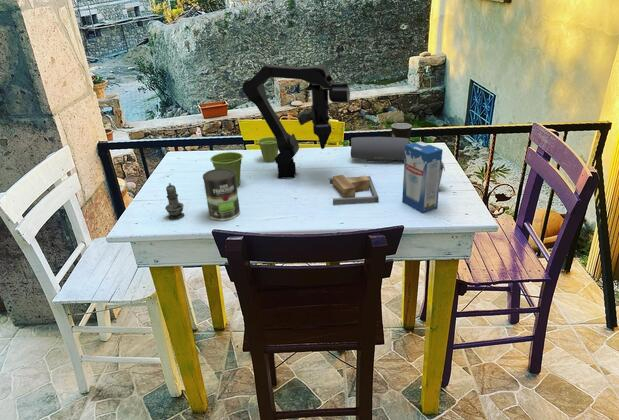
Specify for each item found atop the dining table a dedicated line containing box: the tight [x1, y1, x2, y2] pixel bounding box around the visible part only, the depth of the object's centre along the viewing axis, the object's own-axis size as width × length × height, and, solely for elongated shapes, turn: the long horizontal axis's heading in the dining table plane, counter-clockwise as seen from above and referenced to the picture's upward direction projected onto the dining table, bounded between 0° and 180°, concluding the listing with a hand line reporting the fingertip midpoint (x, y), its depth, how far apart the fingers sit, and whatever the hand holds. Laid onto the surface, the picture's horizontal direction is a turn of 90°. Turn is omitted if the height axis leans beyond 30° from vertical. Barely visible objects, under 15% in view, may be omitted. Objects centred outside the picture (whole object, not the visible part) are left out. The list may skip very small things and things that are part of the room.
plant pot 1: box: [209, 151, 244, 187], centre depth 168 cm, size 12×12×11 cm
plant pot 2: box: [257, 136, 279, 163], centre depth 191 cm, size 9×9×9 cm
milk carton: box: [401, 140, 443, 214], centre depth 144 cm, size 10×6×20 cm, turn 29°
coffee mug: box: [390, 122, 413, 141], centre depth 197 cm, size 12×9×10 cm
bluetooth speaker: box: [350, 136, 410, 163], centre depth 184 cm, size 23×9×10 cm, turn 80°
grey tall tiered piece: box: [164, 182, 185, 221], centre depth 147 cm, size 6×6×12 cm
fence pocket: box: [328, 175, 380, 206], centre depth 159 cm, size 15×18×2 cm
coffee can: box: [202, 168, 241, 222], centre depth 147 cm, size 10×10×14 cm
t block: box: [332, 174, 370, 198], centre depth 160 cm, size 11×12×4 cm
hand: (321, 144), depth 167 cm, fingers open, 9 cm apart
